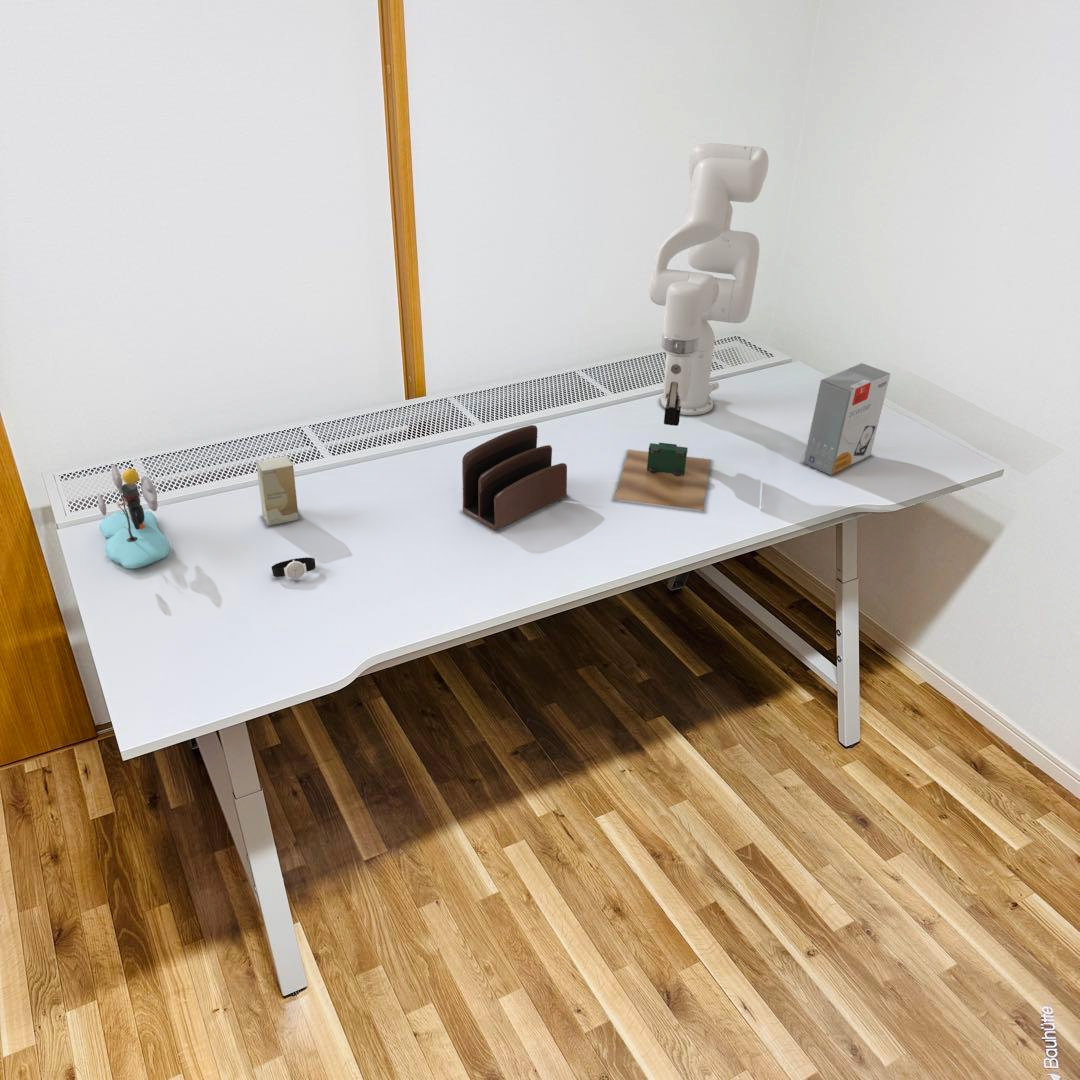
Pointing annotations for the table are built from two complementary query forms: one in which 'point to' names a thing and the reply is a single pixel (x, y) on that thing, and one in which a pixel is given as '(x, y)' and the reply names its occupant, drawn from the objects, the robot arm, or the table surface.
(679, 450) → the green box with feet
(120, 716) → the table surface
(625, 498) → the wooden board
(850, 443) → the hard drive box
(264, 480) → the cosmetic box
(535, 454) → the letter holder
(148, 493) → the winged figurine
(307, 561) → the watch
